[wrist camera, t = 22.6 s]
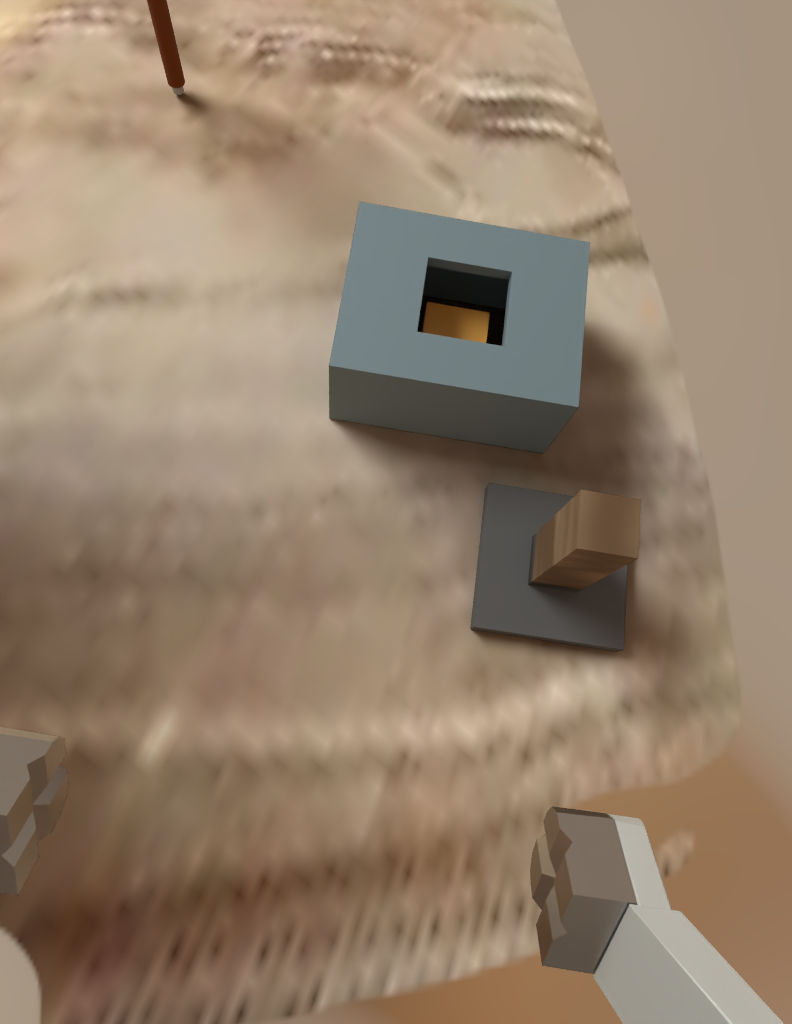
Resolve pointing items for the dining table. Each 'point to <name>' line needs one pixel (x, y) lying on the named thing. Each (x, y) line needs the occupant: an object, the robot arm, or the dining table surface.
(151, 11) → the magnifying glass
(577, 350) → the box
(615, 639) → the pad
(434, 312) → the button
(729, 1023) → the robot arm
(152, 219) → the dining table surface
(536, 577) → the upright wooden post
